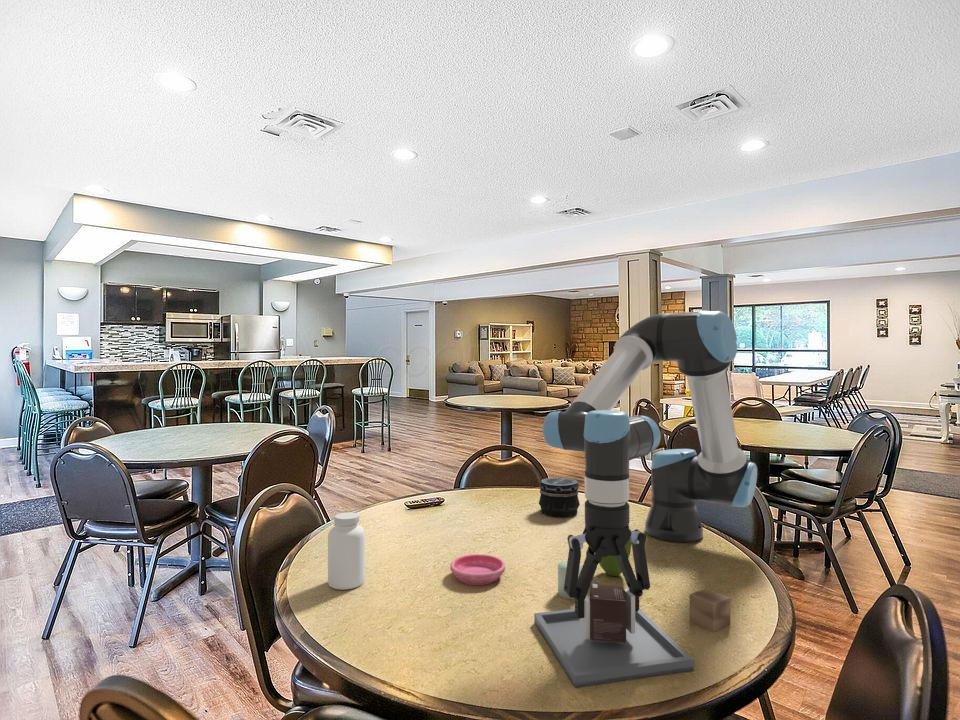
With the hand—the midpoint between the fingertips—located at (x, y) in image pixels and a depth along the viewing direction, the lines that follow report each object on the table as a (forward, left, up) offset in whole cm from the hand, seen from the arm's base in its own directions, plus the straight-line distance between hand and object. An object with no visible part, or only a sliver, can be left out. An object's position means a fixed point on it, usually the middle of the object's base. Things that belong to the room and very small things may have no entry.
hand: (607, 632), depth 93 cm
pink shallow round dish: (+16, -33, -3) cm, 37 cm away
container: (-19, -75, -2) cm, 77 cm away
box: (0, 0, 0) cm, 0 cm away
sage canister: (-1, -20, -2) cm, 20 cm away
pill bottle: (+45, -36, -2) cm, 58 cm away
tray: (0, 0, -2) cm, 2 cm away
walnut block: (-22, -3, -2) cm, 22 cm away
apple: (-14, -27, -2) cm, 31 cm away
